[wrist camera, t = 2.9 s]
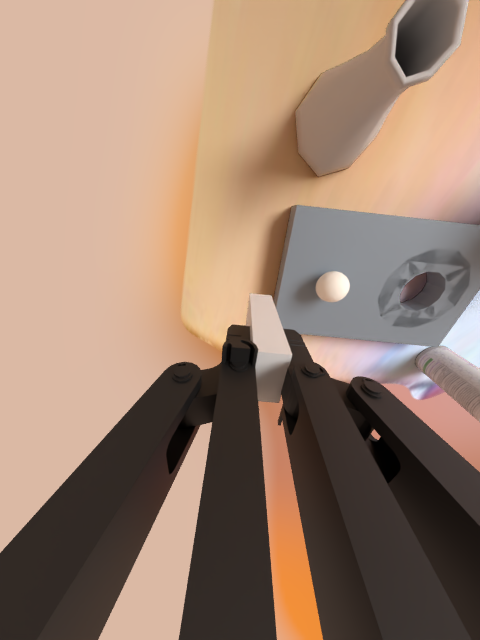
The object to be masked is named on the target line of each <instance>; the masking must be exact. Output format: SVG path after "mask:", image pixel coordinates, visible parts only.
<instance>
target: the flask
mask: <svg viewBox="0 0 480 640" xmlns="http://www.w3.org/2000/svg"><path fill="white" fill-rule="evenodd" d="M468 2H469V0H405V2H404V3H403V4H402V6H401V7H400V8H399V10H398V11H397V13H396V14H395V15H394V17H393V18H392V19H391V21H390V22H389V23H388V25H387V28H386V35H385V36H384V37H383V38H381V39H380V40H379V41H378V42H377V43H376V44H375V45H374V46H372V47H371V48H370V49H369V50H368V51H366V52H364V53H362V54H360V55H358V56H356V57H354V58H353V59H351V60H349V61H347V62H345V63H343V64H341V65H338V66H336V67H334V68H331V69H329V70H327V71H325V72H323V73H321V75H320V76H319V78H318V79H317V80H316V82H315V83H314V85H313V86H312V88H311V89H310V91H309V92H308V94H307V95H306V96H305V98H304V99H303V101H302V102H301V104H300V105H299V107H298V108H297V110H296V111H295V116H296V130H297V143H298V153H299V154H300V155H301V157H302V158H303V159H304V160H305V161H306V163H307V164H308V165H309V166H310V167H311V169H312V170H313V171H314V172H315V173H316V175H317V176H318V177H319V176H322V175H326V174H329V173H333V172H336V171H340V170H343V169H347V168H349V167H350V166H351V165H352V164H353V162H354V161H355V160H356V159H357V158H358V157H359V156H360V155H361V153H362V152H363V151H364V150H365V149H366V148H367V147H368V145H369V144H370V143H371V142H372V141H373V140H374V139H375V137H376V136H377V134H378V132H379V131H380V129H381V127H382V125H383V123H384V121H385V119H386V117H387V115H388V114H389V112H390V110H391V109H392V107H393V105H394V104H395V102H396V100H397V99H398V97H399V95H400V94H401V93H402V92H404V91H405V90H406V89H407V88H408V87H410V86H413V85H416V84H419V83H422V82H425V81H427V80H429V79H430V78H431V77H432V76H433V75H434V74H435V73H436V72H437V71H438V69H439V68H440V67H441V66H442V65H443V64H444V63H445V61H446V60H447V59H448V58H449V57H450V56H451V55H452V54H453V52H454V51H455V50H456V49H457V48H458V47H459V46H460V43H461V38H462V33H463V28H464V23H465V17H466V12H467V7H468Z"/></svg>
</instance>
